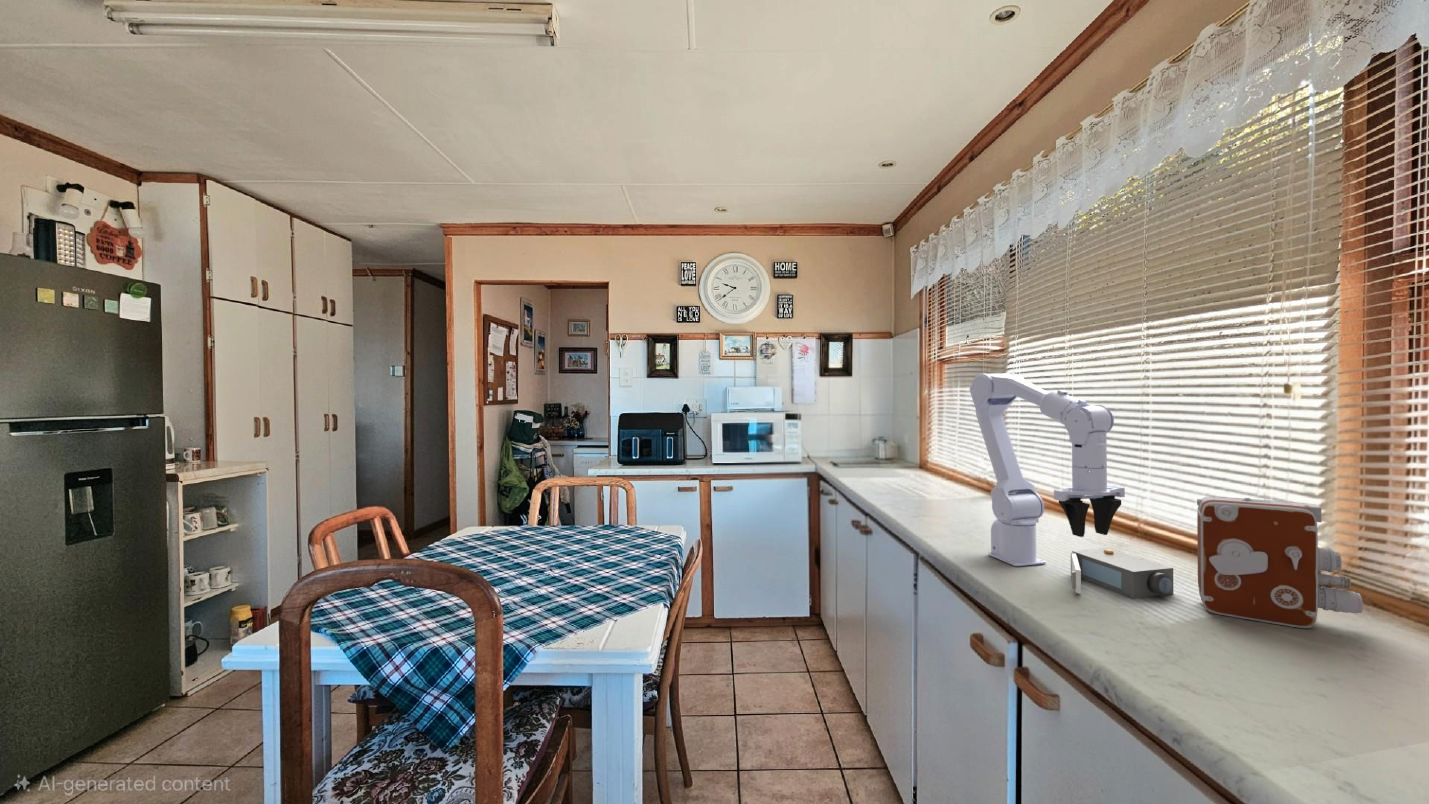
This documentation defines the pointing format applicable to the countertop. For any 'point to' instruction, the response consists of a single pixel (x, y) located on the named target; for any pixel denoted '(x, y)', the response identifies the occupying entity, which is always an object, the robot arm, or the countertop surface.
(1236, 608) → the cine camera
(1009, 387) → the robot arm
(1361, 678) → the countertop surface
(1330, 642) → the countertop surface
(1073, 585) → the side door
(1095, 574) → the camera body
